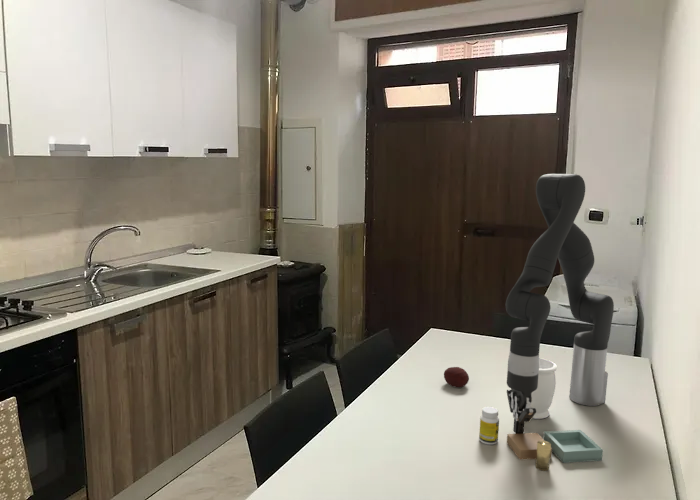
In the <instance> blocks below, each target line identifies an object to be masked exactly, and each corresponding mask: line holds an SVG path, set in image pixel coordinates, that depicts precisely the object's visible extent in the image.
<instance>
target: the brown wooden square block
mask: <svg viewBox="0 0 700 500" xmlns="http://www.w3.org/2000/svg"><path fill="white" fill-rule="evenodd" d="M506 435H507V436H506V444H507V445H508V446H509V448H510V449H511V450H512V451H513V453H514V454H515V455H516V456H517V458H518V459H519V460H536V455H537V442H538V441H544V437H542V436H541V435H540V434H539V433H538V432H528V433H527V432H525V433H520V434H516V433H508V434H506ZM552 453H553V451H552V448H551V451H550V459H552Z"/></svg>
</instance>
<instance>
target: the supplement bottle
mask: <svg viewBox="0 0 700 500" xmlns="http://www.w3.org/2000/svg"><path fill="white" fill-rule="evenodd" d="M499 426H500V418H499V410H498V409H497V408H496V407H492V406H484V407H482V409H481V415H480V418H479V433H478V439H479V441H480V442H481V443H482V444H484V445H490V446H492V445H496V444H497V443H498V441H499V431H500V429H499V428H500V427H499Z"/></svg>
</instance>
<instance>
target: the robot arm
mask: <svg viewBox="0 0 700 500" xmlns="http://www.w3.org/2000/svg"><path fill="white" fill-rule="evenodd" d="M585 195H586V182H585V180H584V178H583V176H581V175H580V174H577V173H576V174H574V173H547V174H543V175H541V176H539V178H538V180H537V181H536V185H535V196H536V199H537V203H538V206H539V208H540V211H541V213H542V216H543V217H544V220H545V222H546V225H547V227H548V228H547V229H546V230H545V231H544V232H543V233H542V234H541V235H540V236H539V237H538V238H537V239H536V241H534V242H533V245H532V246H531V247H530V249H529V251H528V253H527V257H526V259H525V260H526V261H525V262H524V267H523V270H522V272H521V274H520V276H519V277H518V279H517V281H516V282H515V284H514V286H513V287H512V288H511V290H510V291H509V293H508V295H507V297H506V301H505V310H506V313H507V314H508V316H509V317H511V318H515V319H518V320H522V321H523V320H524V321H528V322H529V326H520V327H515V328H513V329H512V331H511V333H510V346H509V355H508V359H507V372H506V374H507V375H506V385H507V387H508V388H509V389H506V395H507V401H508V406H509V411H510V413H511V414H512V418H513V429H512V430H513V432H514V434H520V433H524V432H525V423H530V421H531V420H532V419H533V418H532V417H533V416H534V415H535V413H536V409H535V408H532V406H531V402H532V396H531V393H532V392H533V391H535V390H536V389H537V387H538V374H539V358H540V347H541V346H540V345H541V337H542V334H543V331H544V328H545V325H546V324H547V321H548V318H549V315H550V313H551V302H550V300H549V299H548V297H547V296H546V295H545V294H541V293H535V292H531V291H532V290H533V289H534V288H542V287H547V286H549V285H550V283H551V282H552V281H551V280H552V278H553V275H554V271H555V268H556V265H557V260H558V262H559V265H560V268H561V272H562V275H563V278H564V282H565V286H566V290H567V291H566V292H567V296H568V297H567V298H568V304H569V308H570V313H571V315H572V317H573V318H574V319H575V320H577V321H579V322H582V323H586V324H590V325H593V327H592V330H588V331H580V332H577V333H576V334H575V335H574V340H573V349H572V350H573V351H572V362H571V372H570V384H569V400H571V401H572V402H575V403H577V404H579V405H584V406H589V407H594V406H600V405H602V404H606V398H607V387H608V376H609V374H608V371H606V366H607V365H606V364H607V356H608V347H609V346H608V345H609V340H610V336H611V331H612V330H611V329H612V324H613V323H612V322H613V317H614V311H615V304H614V299H613V298H612V297H611V296H610V295H607V294H603V293H598V292H593V291H589V290H587V289H586V287H585V280H586V278H587V277H588V275H589V274H590V272H591V271H592V270H593V267H594V265H595V255H594V251H593V247H592V243H591V240H590V238H589V237H588V236H587V234H586V233H585V232H584V231H583V229H581V228H580V227H579V226H578V225H577V224H575V223H576V222H575V220H576V218H577V216H578V214H579V212H580V210H581V207H582V206H583V203H584V199H585Z"/></svg>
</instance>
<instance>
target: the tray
mask: <svg viewBox="0 0 700 500" xmlns="http://www.w3.org/2000/svg"><path fill="white" fill-rule="evenodd" d="M543 440H544V441H547V442H549V443H550V444H551V448H552V453H553V454H554V455H555V456H556V457H557V459H559V460H560V461H561V462H562V463H580V462H582V463H583V462H598V461H603V454H604V453H603V452H604V449H603V448H602V447H600V446H599V445H598V444H597V443H596V442H595V441H594V440H593V439H592V438H591V437H589V436H588V434H586V433H585V432H584V431H583V430H581V429H573V430H570V429H569V430H549V431H547V430H546V431H543Z"/></svg>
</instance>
